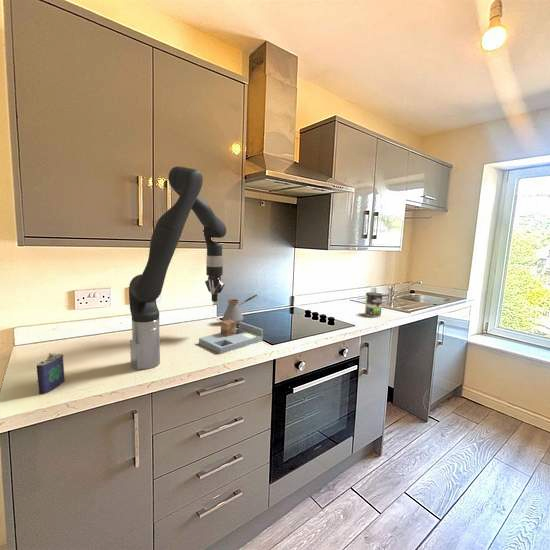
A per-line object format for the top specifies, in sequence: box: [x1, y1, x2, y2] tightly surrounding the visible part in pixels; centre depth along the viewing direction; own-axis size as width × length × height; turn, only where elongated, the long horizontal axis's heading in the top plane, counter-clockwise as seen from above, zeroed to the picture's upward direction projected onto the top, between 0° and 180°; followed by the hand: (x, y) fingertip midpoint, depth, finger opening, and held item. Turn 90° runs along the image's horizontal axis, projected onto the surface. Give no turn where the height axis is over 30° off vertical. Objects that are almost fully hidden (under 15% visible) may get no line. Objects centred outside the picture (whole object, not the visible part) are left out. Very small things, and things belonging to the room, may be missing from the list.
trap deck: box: [198, 321, 264, 355], centre depth 137 cm, size 24×16×6 cm, turn 136°
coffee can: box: [364, 291, 384, 318], centre depth 195 cm, size 10×10×14 cm
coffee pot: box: [222, 294, 259, 326], centre depth 169 cm, size 21×12×15 cm, turn 124°
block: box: [220, 320, 237, 337], centre depth 141 cm, size 5×5×6 cm
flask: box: [36, 353, 66, 395], centre depth 93 cm, size 9×3×11 cm, turn 178°
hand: (214, 301), depth 144 cm, fingers closed
